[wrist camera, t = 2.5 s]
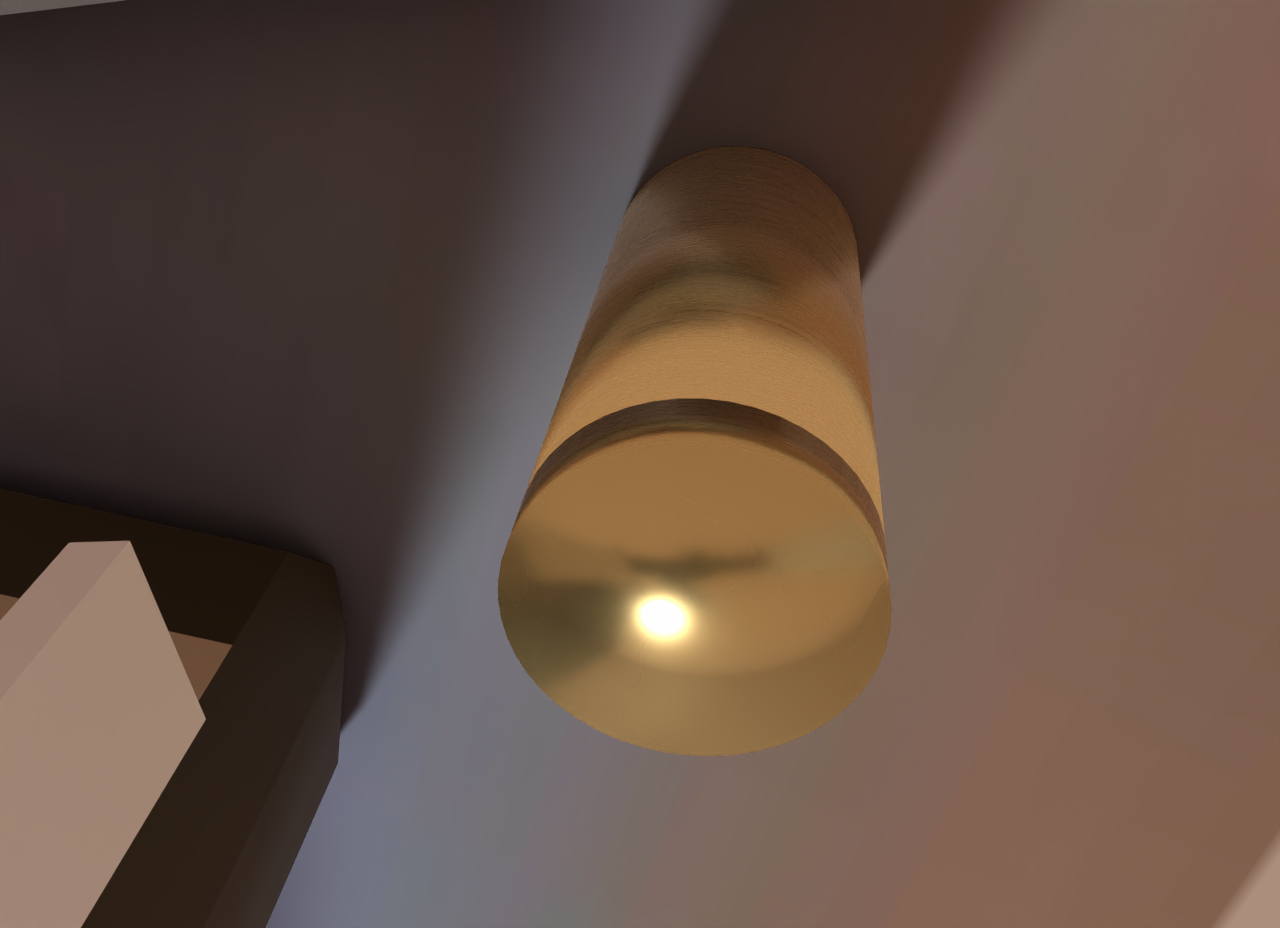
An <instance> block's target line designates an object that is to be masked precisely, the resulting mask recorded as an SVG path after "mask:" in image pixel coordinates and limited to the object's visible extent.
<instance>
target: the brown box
mask: <svg viewBox="0 0 1280 928" xmlns="http://www.w3.org/2000/svg"><path fill="white" fill-rule="evenodd" d="M105 541H130V542H131V545H132V547H133V549H134V552H135V554H136V556H137V559H138V561H139V563H140V566H141V568H142V570H143V573H144V575H145V577H146V580H147V582H148V585H149V587H150V589H151V592H152V594H153V596H154V599H155V601H156V603H157V606H158V608H159V610H160V613H161V615H162V617H163V620H164V622H165V624H166V627H167V629H168V631H169V634H170V636H171V639H172V641H173V643H174V646H175V648H176V650H177V653H178V655H179V657H180V660H181V662H182V664H183V667H184V669H185V671H186V674H187V676H188V678H189V681H190V683H191V685H192V688H193V690H194V692H195V695H196V697H197V700H198V702H199V704H200V707H201V709H202V711H203V714H204V716H205V718H206V720H205V721H204V723H203V725H202V726H201V728H200V730H199V731H198V733H197V735H196V736H195V738H194V740H193V741H192V743H191V745H190V746H189V748H188V750H187V751H186V753H185V755H184V756H183V758H182V760H181V761H180V763H179V765H178V766H177V768H176V770H175V771H174V773H173V775H172V776H171V778H170V780H169V782H168V783H167V785H166V787H165V788H164V790H163V792H162V793H161V795H160V797H159V798H158V800H157V802H156V803H155V805H154V807H153V808H152V810H151V812H150V813H149V815H148V817H147V818H146V820H145V822H144V823H143V825H142V827H141V828H140V830H139V832H138V833H137V835H136V837H135V838H134V840H133V842H132V843H131V845H130V847H129V848H128V850H127V852H126V853H125V855H124V857H123V858H122V860H121V862H120V863H119V865H118V867H117V868H116V870H115V872H114V873H113V875H112V877H111V878H110V880H109V882H108V883H107V885H106V887H105V888H104V890H103V892H102V893H101V895H100V897H99V898H98V900H97V902H96V903H95V905H94V907H93V908H92V910H91V912H90V913H89V915H88V917H87V918H86V920H85V922H84V923H83V925H82V927H81V928H265V927H266V925H267V922H268V920H269V918H270V916H271V913H272V911H273V909H274V907H275V904H276V902H277V900H278V897H279V895H280V893H281V891H282V888H283V886H284V884H285V882H286V879H287V877H288V875H289V872H290V870H291V868H292V866H293V863H294V861H295V859H296V857H297V854H298V852H299V850H300V848H301V845H302V843H303V841H304V838H305V836H306V834H307V832H308V829H309V827H310V825H311V823H312V820H313V818H314V816H315V814H316V811H317V809H318V807H319V804H320V802H321V800H322V798H323V795H324V793H325V791H326V789H327V786H328V784H329V782H330V779H331V777H332V775H333V773H334V770H335V768H336V766H337V764H338V753H339V738H340V724H341V709H342V695H343V680H344V665H345V651H346V631H345V626H344V620H343V615H342V609H341V604H340V599H339V593H338V588H337V582H336V577H335V571H334V567H332V566H329V565H326V564H323V563H320V562H317V561H314V560H311V559H309V558H306V557H303V556H300V555H297V554H294V553H291V552H288V551H283V550H278V549H274V548H269V547H265V546H260V545H256V544H251V543H246V542H242V541H237V540H233V539H228V538H224V537H219V536H214V535H210V534H205V533H201V532H196V531H192V530H187V529H183V528H178V527H173V526H169V525H164V524H160V523H155V522H151V521H146V520H141V519H137V518H132V517H128V516H123V515H119V514H114V513H109V512H105V511H100V510H96V509H91V508H87V507H82V506H78V505H73V504H68V503H64V502H59V501H55V500H50V499H46V498H41V497H36V496H32V495H27V494H23V493H18V492H14V491H9V490H4V489H0V620H1V619H2V618H3V617H4V616H5V615H6V613H7V612H8V611H9V610H10V609H11V608H12V607H13V606H14V604H15V603H16V602H17V601H18V600H19V599H20V598H21V596H22V595H23V594H24V593H25V592H26V591H27V590H28V589H29V587H30V586H31V585H32V584H33V583H34V582H35V581H36V579H37V578H38V577H39V576H40V575H41V574H42V573H43V572H44V570H45V569H46V568H47V567H48V566H49V565H50V564H51V562H52V561H53V560H54V559H55V558H56V557H57V556H58V555H59V553H60V552H61V551H62V550H63V549H64V548H65V547H66V545H67V544H68V543H73V542H105Z"/></svg>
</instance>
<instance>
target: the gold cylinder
mask: <svg viewBox="0 0 1280 928" xmlns="http://www.w3.org/2000/svg"><path fill="white" fill-rule="evenodd" d="M498 600H499V607H500V613H501V619H502V622H503V625H504V629H505V632H506V635H507V638H508V640H509V642H510V644H511V646H512V648H513V650H514V652H515V655H516V657H517V658H518V660H519V661H520V663H521V664H522V666H523V667H524V669H525V670H526V672H527V673H528V674H529V676H530V677H531V678H532V679H533V680H534V681H535V683H536V684H537V685H538V686H539V687H540V688H541V689H542V691H544V692H545V693H546V694H547V695H548V696H549V697H550V698H551V699H552V700H553V701H555V702H556V703H557V704H558V705H559V706H560V707H562V708H563V709H565V710H566V711H567V712H569V713H570V714H571V715H573V716H574V717H576V718H577V719H579V720H581V721H582V722H584V723H586V724H588V725H589V726H591V727H593V728H594V729H596V730H598V731H601V732H603V733H605V734H607V735H610V736H612V737H614V738H616V739H619V740H622V741H625V742H628V743H631V744H634V745H637V746H640V747H644V748H648V749H652V750H657V751H661V752H667V753H674V754H682V755H696V756H720V755H735V754H742V753H748V752H755V751H759V750H763V749H767V748H771V747H775V746H778V745H781V744H784V743H786V742H789V741H792V740H794V739H797V738H800V737H802V736H804V735H806V734H807V733H809V732H811V731H813V730H815V729H817V728H819V727H821V726H822V725H824V724H825V723H827V722H828V721H829V720H831V719H832V718H834V717H835V716H837V715H838V714H839V713H840V712H842V711H843V710H844V709H845V708H846V707H847V706H848V705H849V704H850V703H852V702H853V701H854V700H855V698H856V697H857V696H858V695H859V694H860V693H861V691H862V690H863V689H864V688H865V687H866V685H867V684H868V682H869V681H870V679H871V678H872V676H873V674H874V673H875V671H876V669H877V668H878V666H879V663H880V661H881V658H882V656H883V654H884V651H885V649H886V645H887V640H888V636H889V632H890V624H891V598H890V587H889V577H888V566H887V556H886V545H885V535H884V524H883V514H882V503H881V493H880V482H879V472H878V461H877V450H876V440H875V429H874V419H873V408H872V398H871V387H870V377H869V366H868V356H867V345H866V335H865V324H864V314H863V303H862V293H861V282H860V271H859V261H858V251H857V242H856V238H855V234H854V230H853V226H852V224H851V222H850V219H849V217H848V214H847V212H846V210H845V209H844V207H843V205H842V204H841V202H840V200H839V199H838V197H837V196H836V195H835V194H834V192H833V191H832V190H831V188H830V187H829V186H828V185H827V184H826V183H825V182H824V181H823V180H822V179H821V178H820V177H818V176H817V175H816V174H815V173H813V172H812V171H811V170H809V169H808V168H807V167H805V166H804V165H802V164H800V163H798V162H796V161H794V160H793V159H791V158H789V157H786V156H783V155H781V154H778V153H776V152H772V151H768V150H764V149H760V148H753V147H743V146H730V147H719V148H712V149H707V150H703V151H700V152H696V153H693V154H690V155H688V156H686V157H683V158H681V159H679V160H677V161H675V162H673V163H672V164H670V165H668V166H667V167H665V168H663V169H662V170H661V171H660V172H658V173H657V174H656V175H655V176H653V177H652V178H651V179H650V180H649V181H648V182H647V183H646V184H645V185H644V186H643V187H642V188H641V189H640V191H639V192H638V193H637V195H636V196H635V198H634V199H633V200H632V202H631V203H630V205H629V207H628V209H627V211H626V213H625V215H624V217H623V220H622V222H621V225H620V228H619V231H618V234H617V236H616V239H615V242H614V245H613V248H612V251H611V253H610V256H609V259H608V262H607V265H606V267H605V270H604V273H603V276H602V279H601V282H600V284H599V287H598V290H597V293H596V296H595V298H594V301H593V304H592V307H591V310H590V312H589V315H588V318H587V321H586V324H585V327H584V329H583V332H582V335H581V338H580V341H579V343H578V346H577V349H576V352H575V355H574V358H573V360H572V363H571V366H570V369H569V372H568V374H567V377H566V380H565V383H564V386H563V388H562V391H561V394H560V397H559V400H558V403H557V405H556V408H555V411H554V414H553V417H552V419H551V422H550V425H549V428H548V431H547V434H546V436H545V439H544V442H543V445H542V448H541V450H540V453H539V456H538V459H537V462H536V465H535V467H534V470H533V473H532V476H531V479H530V481H529V484H528V487H527V490H526V493H525V495H524V498H523V501H522V504H521V507H520V510H519V512H518V515H517V518H516V521H515V524H514V526H513V529H512V532H511V535H510V538H509V541H508V543H507V546H506V549H505V552H504V555H503V557H502V562H501V567H500V573H499V579H498Z"/></svg>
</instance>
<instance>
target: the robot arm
mask: <svg viewBox="0 0 1280 928" xmlns="http://www.w3.org/2000/svg"><path fill="white" fill-rule="evenodd" d="M205 720H206V718H205V716H204V714H203V711H202V709H201V707H200V704H199V702H198V700H197V697H196V695H195V692H194V690H193V688H192V685H191V683H190V681H189V678H188V676H187V674H186V671H185V669H184V667H183V664H182V662H181V660H180V657H179V655H178V653H177V650H176V648H175V646H174V643H173V641H172V639H171V636H170V634H169V631H168V629H167V627H166V624H165V622H164V620H163V617H162V615H161V613H160V610H159V608H158V606H157V603H156V601H155V599H154V596H153V594H152V592H151V589H150V587H149V585H148V582H147V580H146V577H145V575H144V573H143V570H142V568H141V566H140V563H139V561H138V559H137V556H136V554H135V552H134V549H133V547H132V545H131V542H130V541H105V542H73V543H68V544H67V545H66V547H65V548H64V549H63V550H62V551H61V552H60V553H59V555H58V556H57V557H56V558H55V559H54V560H53V561H52V562H51V564H50V565H49V566H48V567H47V568H46V569H45V570H44V572H43V573H42V574H41V575H40V576H39V577H38V578H37V579H36V581H35V582H34V583H33V584H32V585H31V586H30V587H29V589H28V590H27V591H26V592H25V593H24V594H23V595H22V596H21V598H20V599H19V600H18V601H17V602H16V603H15V604H14V606H13V607H12V608H11V609H10V610H9V611H8V612H7V613H6V615H5V616H4V617H3V618H2V619H1V620H0V928H81V927H82V925H83V923H84V922H85V920H86V918H87V917H88V915H89V913H90V912H91V910H92V908H93V907H94V905H95V903H96V902H97V900H98V898H99V897H100V895H101V893H102V892H103V890H104V888H105V887H106V885H107V883H108V882H109V880H110V878H111V877H112V875H113V873H114V872H115V870H116V868H117V867H118V865H119V863H120V862H121V860H122V858H123V857H124V855H125V853H126V852H127V850H128V848H129V847H130V845H131V843H132V842H133V840H134V838H135V837H136V835H137V833H138V832H139V830H140V828H141V827H142V825H143V823H144V822H145V820H146V818H147V817H148V815H149V813H150V812H151V810H152V808H153V807H154V805H155V803H156V802H157V800H158V798H159V797H160V795H161V793H162V792H163V790H164V788H165V787H166V785H167V783H168V782H169V780H170V778H171V776H172V775H173V773H174V771H175V770H176V768H177V766H178V765H179V763H180V761H181V760H182V758H183V756H184V755H185V753H186V751H187V750H188V748H189V746H190V745H191V743H192V741H193V740H194V738H195V736H196V735H197V733H198V731H199V730H200V728H201V726H202V725H203V723H204V721H205Z"/></svg>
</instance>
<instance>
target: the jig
mask: <svg viewBox="0 0 1280 928" xmlns="http://www.w3.org/2000/svg"><path fill="white" fill-rule="evenodd" d="M116 1H124V0H0V15H7V14H16V13H24V12H32V11H41V10H49V9H57V8H66V7H74V6H83V5H91V4H99V3H108V2H116Z"/></svg>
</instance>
